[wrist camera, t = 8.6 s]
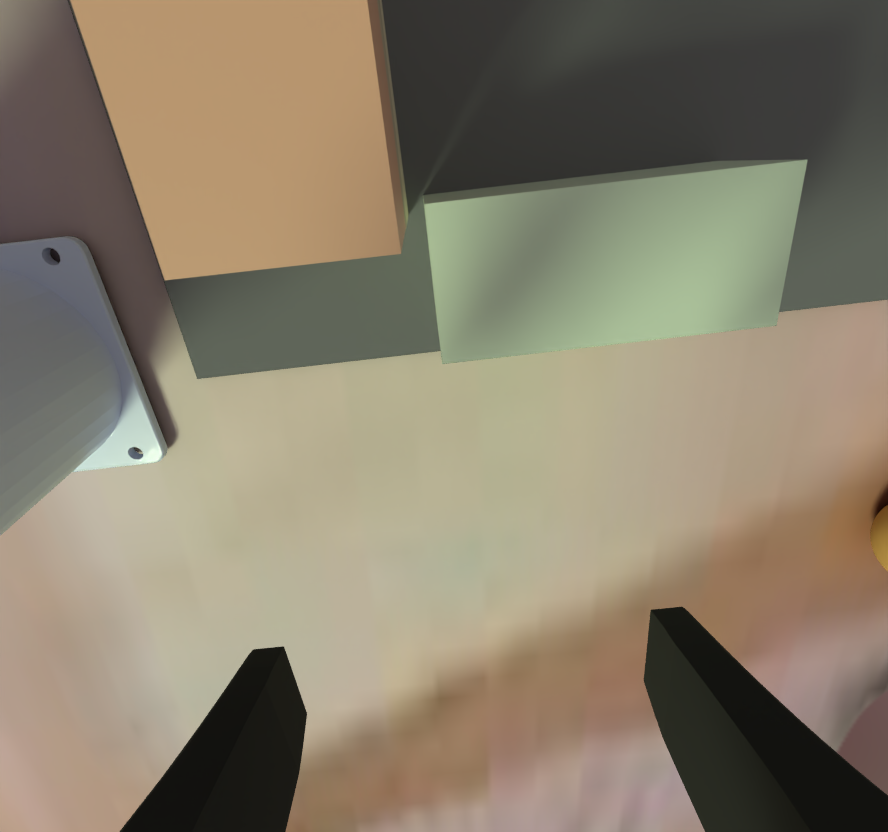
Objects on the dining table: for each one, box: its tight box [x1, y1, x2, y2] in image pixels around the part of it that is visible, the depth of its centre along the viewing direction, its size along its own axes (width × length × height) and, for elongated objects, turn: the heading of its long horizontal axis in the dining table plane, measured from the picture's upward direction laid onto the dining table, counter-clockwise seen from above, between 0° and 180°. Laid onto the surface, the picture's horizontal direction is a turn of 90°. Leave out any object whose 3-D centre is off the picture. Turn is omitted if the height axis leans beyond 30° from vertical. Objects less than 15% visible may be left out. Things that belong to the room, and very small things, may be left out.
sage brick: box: [423, 160, 807, 364], centre depth 15 cm, size 9×4×4 cm, turn 96°
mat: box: [68, 0, 888, 379], centre depth 14 cm, size 26×18×1 cm
